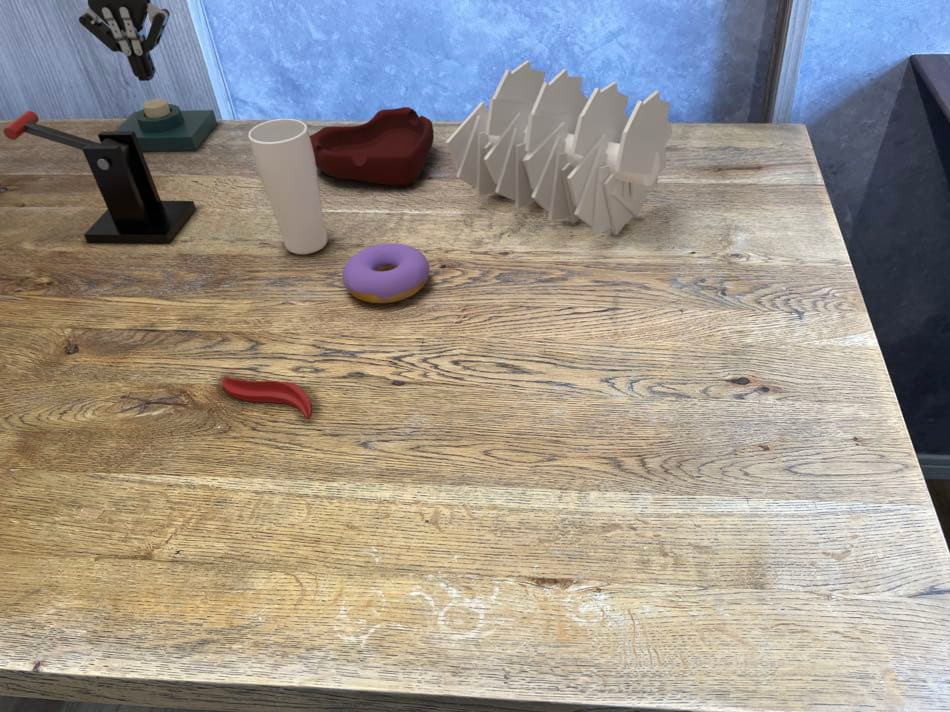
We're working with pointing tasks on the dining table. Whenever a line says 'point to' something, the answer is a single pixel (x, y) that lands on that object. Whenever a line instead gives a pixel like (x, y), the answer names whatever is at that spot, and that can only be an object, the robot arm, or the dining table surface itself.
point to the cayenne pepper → (268, 392)
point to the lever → (55, 134)
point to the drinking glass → (290, 182)
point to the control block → (171, 129)
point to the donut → (386, 273)
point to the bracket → (131, 196)
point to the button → (156, 108)
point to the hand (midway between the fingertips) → (146, 78)
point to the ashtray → (376, 148)
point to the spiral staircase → (564, 148)
